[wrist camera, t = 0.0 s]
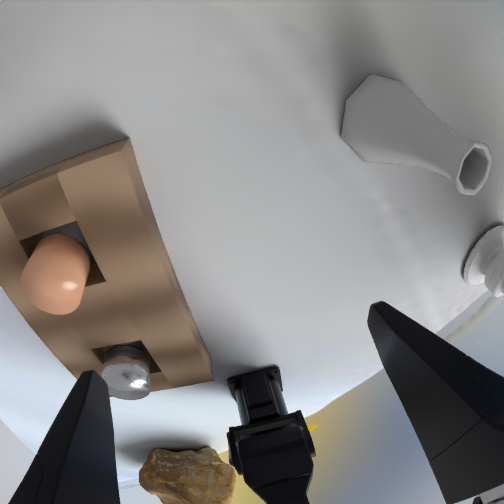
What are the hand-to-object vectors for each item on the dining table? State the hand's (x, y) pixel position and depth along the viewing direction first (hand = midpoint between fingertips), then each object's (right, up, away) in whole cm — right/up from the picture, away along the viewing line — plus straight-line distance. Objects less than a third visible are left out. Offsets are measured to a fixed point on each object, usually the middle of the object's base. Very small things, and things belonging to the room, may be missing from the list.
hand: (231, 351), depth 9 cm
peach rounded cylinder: (-13, +2, +10) cm, 16 cm away
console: (-12, -1, +16) cm, 20 cm away
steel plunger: (-11, -7, +17) cm, 22 cm away
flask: (+10, +13, +12) cm, 21 cm away
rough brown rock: (-14, -37, +42) cm, 58 cm away
